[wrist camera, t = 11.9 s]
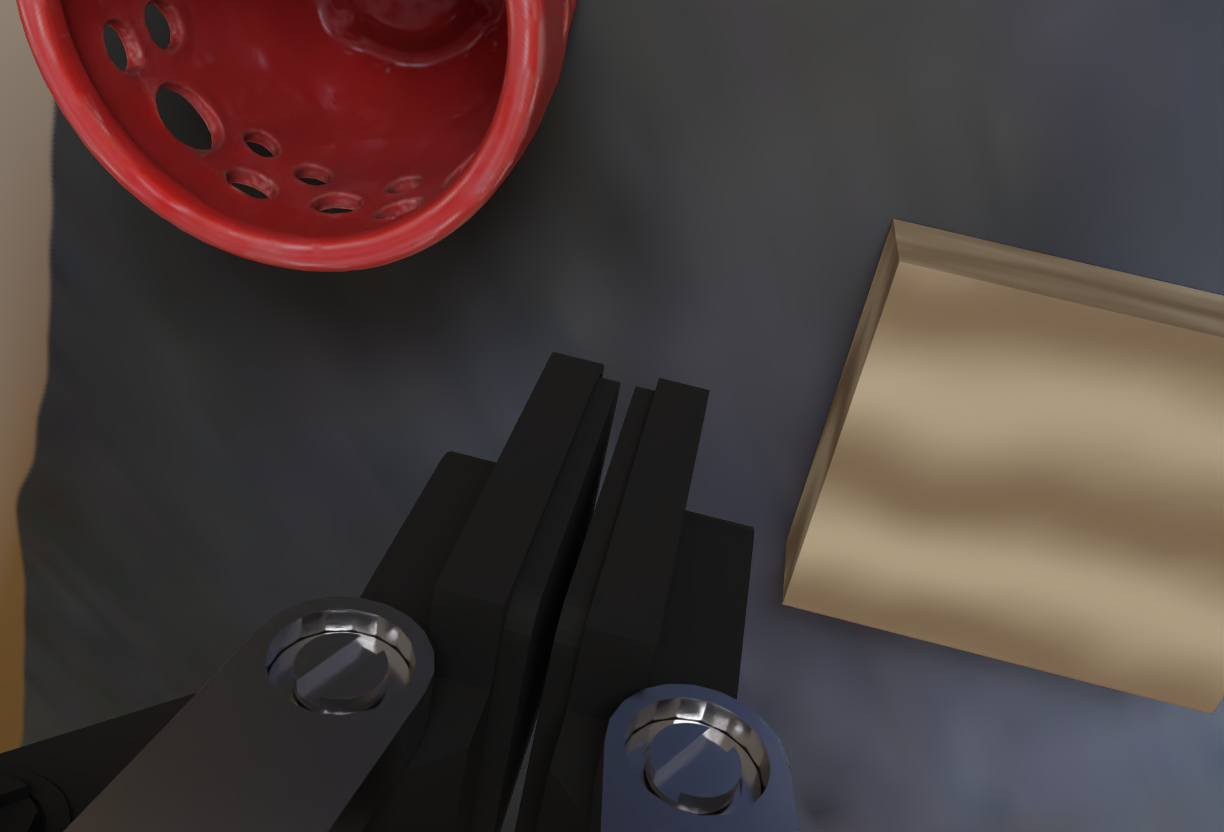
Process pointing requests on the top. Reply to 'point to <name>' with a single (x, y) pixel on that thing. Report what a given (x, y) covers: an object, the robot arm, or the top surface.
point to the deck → (1026, 468)
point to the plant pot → (309, 113)
